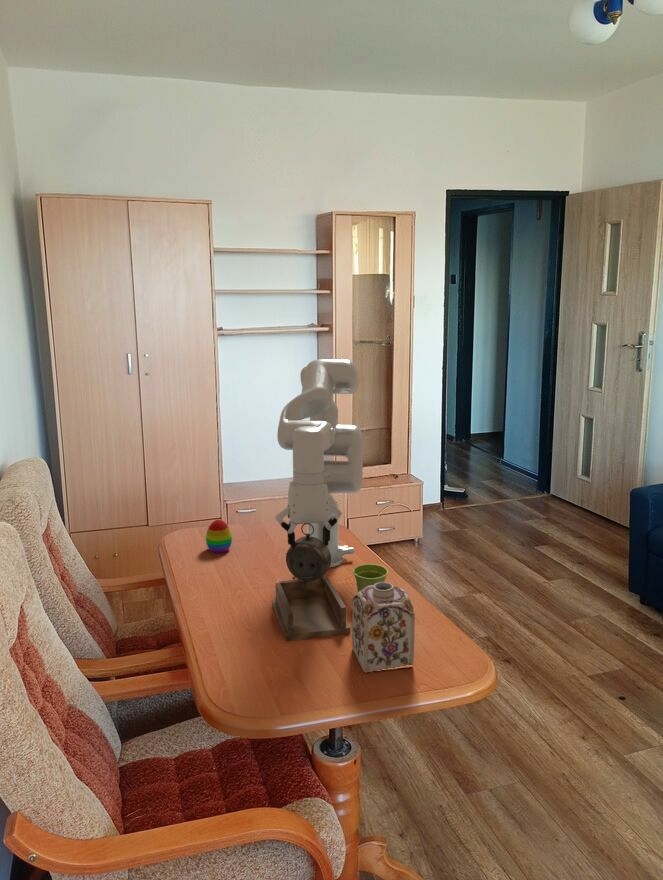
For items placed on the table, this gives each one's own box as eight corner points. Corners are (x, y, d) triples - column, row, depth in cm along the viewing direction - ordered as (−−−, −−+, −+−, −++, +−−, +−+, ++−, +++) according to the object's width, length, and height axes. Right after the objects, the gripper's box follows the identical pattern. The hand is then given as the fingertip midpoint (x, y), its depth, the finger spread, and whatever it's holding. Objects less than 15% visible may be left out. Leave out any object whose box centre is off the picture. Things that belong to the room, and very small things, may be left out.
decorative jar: (414, 669, 160) (416, 594, 156) (364, 675, 158) (364, 599, 154) (398, 642, 172) (400, 572, 168) (351, 648, 169) (351, 577, 165)
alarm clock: (331, 582, 182) (331, 521, 179) (324, 591, 177) (324, 529, 174) (291, 576, 186) (290, 517, 182) (283, 585, 181) (282, 524, 177)
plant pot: (394, 603, 192) (395, 573, 190) (365, 611, 187) (365, 580, 185) (374, 590, 200) (375, 561, 198) (346, 598, 195) (346, 568, 193)
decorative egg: (211, 544, 234) (210, 515, 232) (235, 546, 233) (234, 516, 231) (202, 553, 227) (201, 523, 224) (227, 555, 225) (226, 525, 223)
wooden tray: (330, 598, 195) (330, 576, 194) (350, 633, 176) (350, 608, 175) (272, 604, 191) (271, 582, 190) (285, 641, 172) (285, 616, 171)
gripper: (339, 471, 181) (339, 537, 185) (270, 475, 177) (272, 543, 181) (346, 479, 174) (346, 547, 178) (275, 484, 170) (277, 553, 174)
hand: (309, 544), depth 179 cm, fingers closed on alarm clock, 7 cm apart
